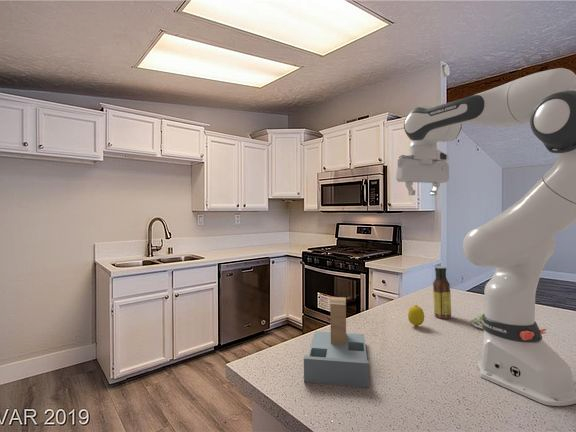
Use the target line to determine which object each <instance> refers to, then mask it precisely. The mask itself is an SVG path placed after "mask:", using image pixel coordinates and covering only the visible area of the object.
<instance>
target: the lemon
mask: <svg viewBox="0 0 576 432" xmlns="http://www.w3.org/2000/svg"><path fill="white" fill-rule="evenodd" d="M407 317H408V321H409V323H410V324H412V326H414V327H416V328H417V327H419V326H421V325H422V324H423V323H424V322H425V313H424V310H423V308H422V307H420V306H419V305H417V304H416V305H413V306H411V307H410V308H409V310H408V312H407Z"/></svg>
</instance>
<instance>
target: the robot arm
mask: <svg viewBox="0 0 576 432" xmlns="http://www.w3.org/2000/svg"><path fill="white" fill-rule="evenodd" d="M526 123H527V124H528V123H529V124H530V128H531V131H532V133H533V134H534V135H535V137H536V138H537V139H538V140H539V141H540V142H541V143H543V145H544V147H545V148H546V150H548V152H549V153H552V154H558V157H557V160H556V161H555V162H554V164H553V165H551V167H550V168H548V170H547V171H546V172H545V173H544V174H543V175H542V176H541V177H540V179H538V180H537V181H536V182H535V184H534V185H533V186H532V187H531V188H530V189H529V190H527V192H526V193H525V194H524V195H523V196H521V198H520V199H518V201H516V202H515V203H513V204H512V205H510V206H509V207H508V208H506V209H505V210H504V211H502V212H500V213H499V214H498V215H496V216H495V217H493V218H492V219H490V220H489V221H488V222H486V223H484V224H482V225H481V226H479V227H477V228H474V229H472V230H469V231H468V232H467V233H466V235H465V236H464V238H463V242H462V249H463V250H462V251H463V254H464V255H465V258H466V259H467V260H468V261H469V262H470V263H471V264H472V265H474V266H477V267H482V268H483V267H484V268H489V269H495V271H494V273H493V276H492V277H491V279H489V281H488V282H486V283H485V286H484V289H483V290H484V292H483V293H484V294H483V295H484V297H483V298H484V299H483V300H484V301H483V302H484V305H483V307H484V309H483V310H484V313H483V314H482V315H483V319H482V323H481V324H482V326H481V327H482V328H483V329H484V331H483V336H482V337H483V338H482V344H481V345H482V346H481V351H480V354H479V357H478V361H477V362H476V363H477V365H476V366H477V368H478V369H479V376H480V378H482V379H485V380H487V381H489V382H492V383H493V384H496V385H498V386H501V387H503V388H506V389H507V390H510V391H513V392H515V393H517V394H519V395H522V396H524V397H526V398H529V399H531V400H533V401H536V402H537V403H540V404H543V405H546V406H553V407H564V406H571V405H575V404H576V383H575V382H574V376H573V372H572V370H571V367H570V365H569V364H568V362H566V361H565V359H563V358H562V357H561V356H560V355H559V354H558V353H557V352H556V351H554V349H553V348H552V347H551V346H549V344H548V343H547V342H546V341H544V339H543V336H542V335H544V334H547V332H546V331H547V328H541V329H540V328H539V325H538V323H537V322H536V321H535V320H536V294H537V287H538V285H539V281H540V278H541V275H542V273H543V271H544V270H543V269H544V267H545V265H546V263H547V262H548V260H550V258H551V257H552V256H553V255H554V253H555V251H556V247H557V245H556V244H557V243H556V239H555V237H554V235H557V234H559V233H561V232H563V231H565V230H566V229H568V228H569V227H570V226H571V225H572V224H573V223H574V222H576V74H575V72H574V71H572V70H571V69H567V68H563V67H557V68H553V69H551V68H550V69H547V70H543V71H539V72H534V73H532V74H531V73H530V74H528V75H525V76H523V77H519V78H517V79H514V80H511V81H509V82H507V83H504V84H501V85H499V86H496V87H493V88H490V89H488V90H484V91H482V92H479V93H475V94H473V95H470V96H466V97H463V98H458V99H456V100H453V101H448V102H446V103H443V104H440V105H436V106H433V107H432V106H423V107H421V106H419V107H415V108H414V109H412V110H411V111H410V112H409V113H408V114H407V115H406V118H405V120H404V122H403V129H404V133H405V134H406V135H407V138H409V141H410V142H409V143H410V144H409V149H408V150H409V151H408V153H409V154H401V155H400V156H399V157H398V158H397V166H396V176H395V180H396V181H397V183H405V187H406V189H407V190H408V191H407V192H408V196H415V195H416V189H414V188H413V185H414V183H425V184H426V183H431V184H432V190H430V192H429V193H430V194H429V195H430V196H435V197H436V196H437V195H438V191H439V188H440V186H441V184H443V183H448V181H449V180H450V166H449V162H448V161H449V159H450V156H449V154H447V153H445V152H442V151H441V150H439V149H437V144H438V143H439V142H441V143H442V142H443V143H445V142H452V141H454V140H456V138H457V137H458V136H459V135H460V132H461V130H462V126H463V124H472V125H482V126H490V127H511V126H519V125H523V124H526Z"/></svg>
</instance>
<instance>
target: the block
mask: <svg viewBox="0 0 576 432" xmlns="http://www.w3.org/2000/svg"><path fill="white" fill-rule="evenodd" d="M329 306H330V308H329V309H330V311H329V313H330V318H329V319H330V332H331V344H346V333H347V298H346V297H344V296H343V297H341V296H332V297H331V300H330V305H329Z"/></svg>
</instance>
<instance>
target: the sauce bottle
mask: <svg viewBox="0 0 576 432" xmlns="http://www.w3.org/2000/svg"><path fill="white" fill-rule="evenodd" d="M434 271H435V279H434V281H433V283H432V287H433V288H432V289H433V290H432V294H433V295H432V297H433V314H434V316H435V317H436V318H438V319H442V320H448V319H451V317H452V303H451V302H452V301H451V300H452V299H451V284H450V282H449V281H448V279H447V267H446V266H435V267H434Z"/></svg>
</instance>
